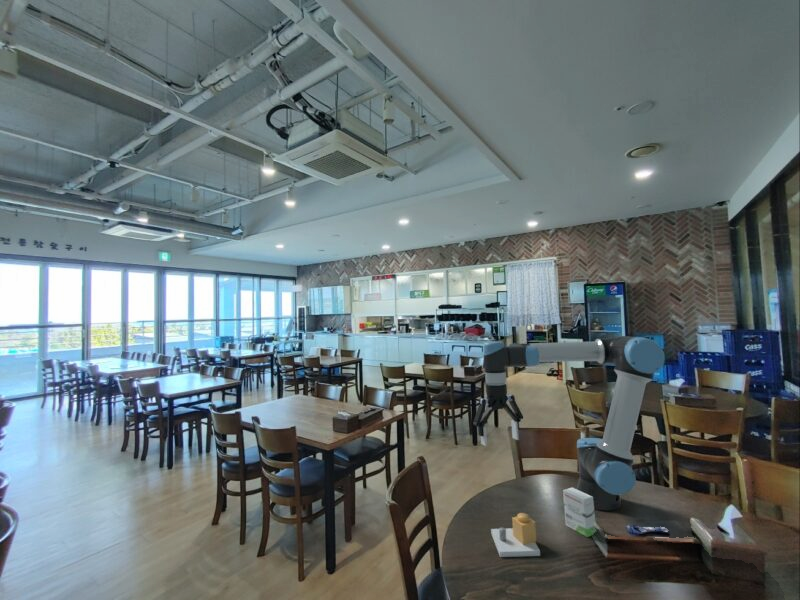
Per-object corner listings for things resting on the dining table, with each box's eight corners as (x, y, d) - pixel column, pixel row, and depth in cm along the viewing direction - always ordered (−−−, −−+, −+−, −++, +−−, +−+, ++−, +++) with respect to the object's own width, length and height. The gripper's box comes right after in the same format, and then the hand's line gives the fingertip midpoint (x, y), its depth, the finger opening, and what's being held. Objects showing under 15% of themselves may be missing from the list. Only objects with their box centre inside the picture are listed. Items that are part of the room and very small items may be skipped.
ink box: (597, 533, 117) (594, 496, 118) (587, 538, 115) (584, 500, 116) (574, 521, 125) (571, 486, 126) (564, 525, 123) (561, 489, 124)
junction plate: (527, 532, 120) (526, 517, 120) (540, 555, 108) (539, 539, 108) (491, 533, 120) (490, 519, 120) (500, 557, 108) (499, 540, 108)
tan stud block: (536, 541, 112) (534, 518, 113) (523, 545, 111) (521, 521, 111) (526, 532, 117) (524, 510, 118) (513, 536, 115) (511, 513, 116)
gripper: (517, 378, 141) (521, 433, 139) (461, 385, 132) (465, 444, 131) (530, 381, 134) (534, 439, 132) (471, 388, 125) (475, 450, 124)
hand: (500, 442), depth 132 cm, fingers open, 13 cm apart
